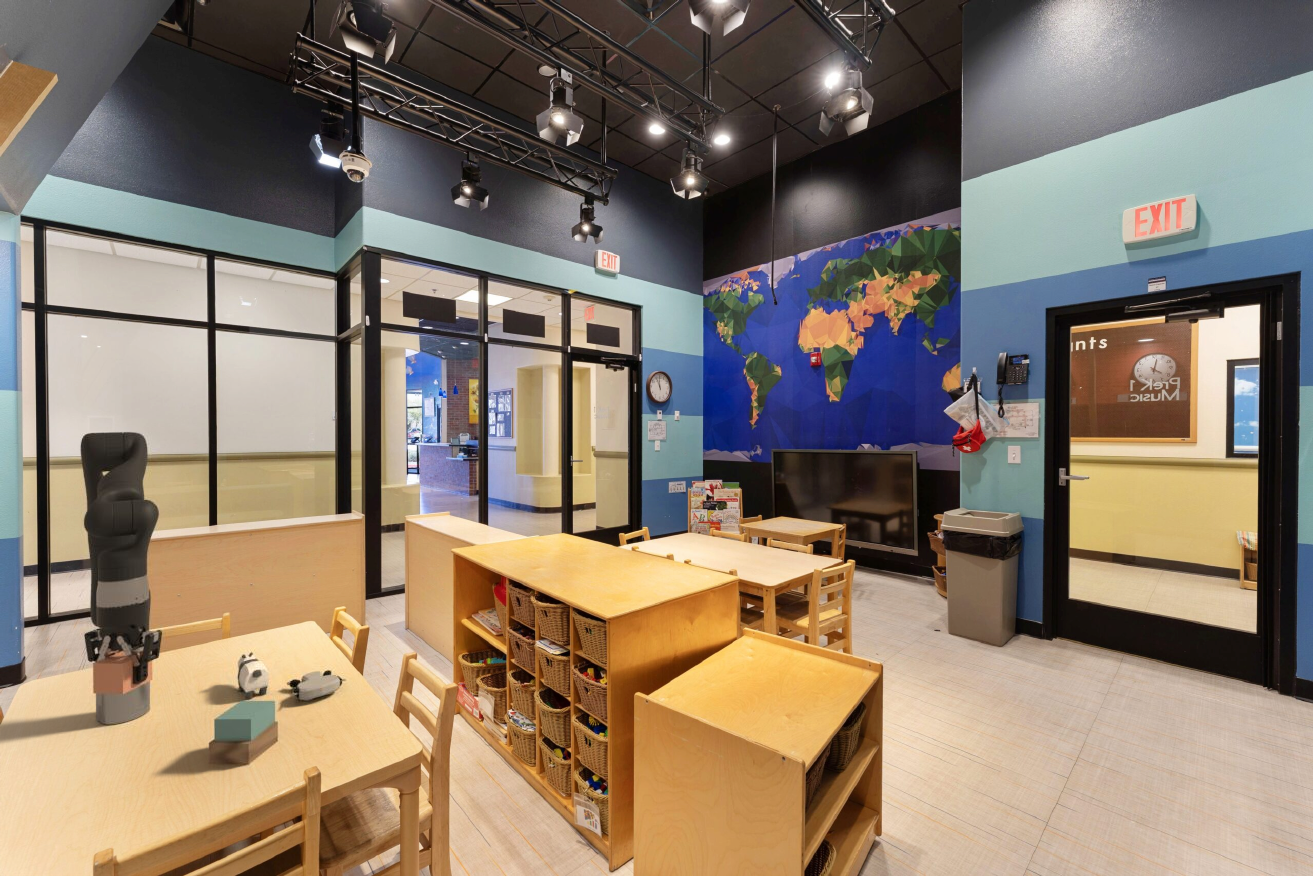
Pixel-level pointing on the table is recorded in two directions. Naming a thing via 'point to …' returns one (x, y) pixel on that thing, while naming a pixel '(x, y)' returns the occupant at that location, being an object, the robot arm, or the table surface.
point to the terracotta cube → (116, 674)
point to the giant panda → (252, 676)
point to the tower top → (244, 721)
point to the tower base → (242, 748)
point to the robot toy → (315, 685)
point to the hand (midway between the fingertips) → (123, 681)
